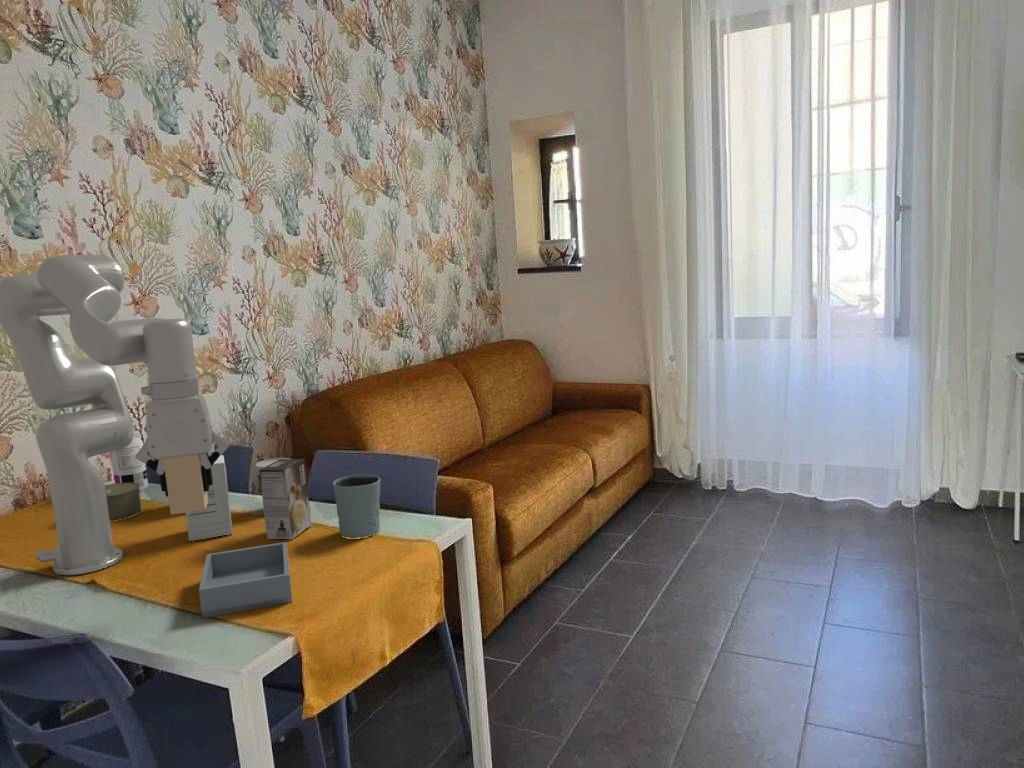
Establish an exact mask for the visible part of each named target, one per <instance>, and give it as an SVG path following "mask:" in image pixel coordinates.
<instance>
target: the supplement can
mask: <svg viewBox="0 0 1024 768" xmlns="http://www.w3.org/2000/svg"><path fill="white" fill-rule="evenodd" d="M143 445H144V442H143V440H142V439H141V437H140V436H139V435H133V439H132V442H131V443H130V444H129V445H128V446H127V447H125V448H123V449H119V450H116V451H112V452H110V455H111V456H110V457H111V465H112V472H113V479H114V484H117V483H137V484H139V493H140V492H142V491H145V490H146V489H147V488H148V487H149V480H148V472H147V465H146V464H144V463H142V462H141V461H139V460H137V459H136V458H135V455H136V454H137V453H138V451H139V450H140V449H141V448H142V446H143Z"/></svg>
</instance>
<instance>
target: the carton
mask: <svg viewBox="0 0 1024 768" xmlns="http://www.w3.org/2000/svg"><path fill="white" fill-rule="evenodd" d="M163 460H164V467H165V475H166V482H167V490H168V502H169V503H168V505H169V511H170V515H172V516H173V515H178V514H186V513H187V512H194V511H202V510H205V509H206V506H207V504H208V495H207V491H206V492H205V491H204V489H203V481H202V473H201V470H202V466H203V464H202V462H201V460H200V457H199V455H198V454H194V455H185V456H177V457H168V458H163Z"/></svg>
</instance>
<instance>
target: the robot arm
mask: <svg viewBox="0 0 1024 768" xmlns="http://www.w3.org/2000/svg"><path fill="white" fill-rule="evenodd" d="M124 285H125V274H124V270H123V269H122V267H121V265H120V264H119V263H118V262H117V261H116V260H115V259H114V258H112V257H110V256H108V255H104V254H60V255H54V256H51V257H48V258H46V259H45V260H44V261H43V262H42V263H41V264H40V265H39V266H38V268H37V272H36V273H24V274H23V273H22V274H15V275H10V276H7V277H4V278H2V279H0V326H1V328H2V329H3V331H4V333H5V334H6V335H7V337H8V338H9V341H11V343H12V345H13V346H14V348H15V351H16V353H17V356H18V359H19V364H20V366H21V369H22V372H23V376H24V378H25V379H24V380H25V383H26V384H27V387H28V391H29V393H30V395H31V398H32V400H33V402H34V404H35V405H36V406H37V407H38V408H40V409H42V410H47V411H48V410H49V411H50V410H53V411H54V410H60V409H61V410H62V409H67V408H73V407H79V406H84V405H91V406H92V408H91V409H86V410H79V411H74V412H72V411H71V412H67V413H62V414H58V415H54V416H52V417H49V418H47V419H46V420H44V421H42V422H41V423H40V424H39V426H38V427H37V429H36V434H35V436H36V437H35V438H36V443H37V447H38V448H39V452H40V456H41V457H42V459H43V463H44V466H45V469H46V475H47V479H48V485H49V491H50V492H49V493H50V499H51V502H52V503H51V505H52V509H53V515H54V522H55V530H56V536H57V542H58V543H57V544H58V546H55V547H54V548H53V549H44V550H43V549H42V550H37V551H36V553H35V554H36V556H35V558H36V560H37V561H39V562H40V563H47V562H52V561H53V562H54V563H53V564H52V571H53V572H54V573H55V574H56V575H61V576H74V575H75V576H76V575H84V574H87V573H89V574H90V573H92V572H93V573H94V572H96V571H101V570H103V568H104V569H106V568H108V566H109V567H110V566H111V567H112V566H113V565H116V564H117V563H118V562H120V561H121V560H122V559H123V557H124V552H123V550H122V549H121V548H118V547H114V543H113V536H112V529H111V528H112V527H111V522H110V520H109V513H108V505H107V498H106V491H105V485H106V484H105V480H104V476H103V475H102V473H101V471H100V470H99V469H98V468H97V467H96V466H95V465H94V464H92V462H90V460H89V458H92V457H95V456H98V455H102V454H107V453H111V452H112V451H116V450H119V449H123V448H125V447H127V446H128V445H129V444H130V443H131V442H132V439H133V436H135V435H134V433H135V430H134V425H133V421H132V417H131V414H130V411H129V408H128V405H127V401H126V398H125V395H124V393H123V390H122V386H121V383H120V381H119V378H118V375H117V373H116V371H115V369H114V368H113V367H114V366H115V367H116V366H124V365H128V364H130V365H131V364H136V363H146V365H147V372H148V373H147V374H148V380H149V383H148V385H145V386H142V387H141V389H140V391H141V394H142V395H141V396H145V395H147V396H149V397H150V399H151V400H149V401H147V402H146V409H145V411H146V413H145V414H146V417H145V419H146V421H145V422H146V423H145V425H146V437H147V439H146V441H145V442H144V443H143V446H142V448H141V449H140V450H139V451H138V453H137V454H136V455H135V458H136V459H137V460H139V461H141V462H142V463H144V464H146V467H148V468H150V469H151V470H152V471H154V472H155V473H156V475H159V482H160V489H161V492H164V494H165V497H166V498H167V497H168V490H167V482H166V475H165V467H164V460H163V458H168V457H177V456H185V455H194V454H198V455H199V457H200V460H201V462H202V464H203V466H202V470H201V473H202V481H203V489H204V491H205V492H206V491H209V488H210V485H213V479H212V471H211V466H212V465H213V464H214V462H215V461H216V460H217V459H218V458H219V457H220V455H223V454H224V453H225V452H226V451H227V450H228V448H229V446H230V445H229V443H228V442H227V441H226V440H225V439H224V438H223V437H221V436H220V434H217V433H216V432H215V431H214V430H213V427H212V422H211V417H210V413H209V408H208V406H207V402H206V399H205V396H204V395H203V394H200V389H199V380H198V374H197V373H198V372H197V365H196V357H195V350H194V349H195V348H194V342H193V334H192V332H193V331H192V328H191V327H192V326H191V324H190V323H189V321H188V320H186V319H184V318H169V319H168V318H165V319H164V318H160V317H159V318H158V317H157V318H156V317H153V318H141V319H140V318H137V319H136V318H135V319H134V318H133V319H127V320H126V319H124V320H114V321H113V318H115V316H116V315H117V314H118V313H119V311H120V309H121V305H122V298H121V294H120V293H121V292H123V291H122V290H123V289H124ZM65 315H69V329H70V333H71V336H72V339H73V341H74V343H75V344H76V346H77V347H78V349H80V350H81V351H82V352H83V353H84V354H85V355H87V356H88V357H89V358H79V359H73V358H72V357H71V356H70V354H69V351H68V349H67V345H66V342H65V340H64V338H63V337H62V335H61V334H60V333H59V332H58V331H57V330H56V329H55V328H54V327H52V326H51V325H50V324H49V323H46V322H44V321H43V320H42V319H41V317H47V316H48V317H51V316H65ZM213 444H215V445H216V446H217V448H215V451H214V452H213V453H212V454H211V456H209V454H208V452H209V451H210V450H211V449H212V446H213ZM148 454H149V455H148ZM168 498H169V497H168ZM119 560H120V561H119ZM116 562H117V563H116Z"/></svg>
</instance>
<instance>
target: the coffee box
mask: <svg viewBox="0 0 1024 768" xmlns="http://www.w3.org/2000/svg"><path fill="white" fill-rule="evenodd" d="M305 460H306V459H305V458H297V459H296V458H292V459H291V458H289V459H280V460H278V461H276V462H274V463H272V464H270V465H268V466H266V467H264V468H262V469H260V470H259V473H260V482H261V489H260V491H261V490H262V494H261V498H262V505H263V506H262V507H263V513H264V514H263V515H264V522H265V523H264V524H265V532H266V539H293V538H294V537H296V536H297V535H298V534H299V533H300V532H302V531H303V530H304V529H306V528H307V527H309V526H310V525H312V517H311V509H310V500H309V490H308V478H307V471H306V461H305ZM296 538H297V537H296Z"/></svg>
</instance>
